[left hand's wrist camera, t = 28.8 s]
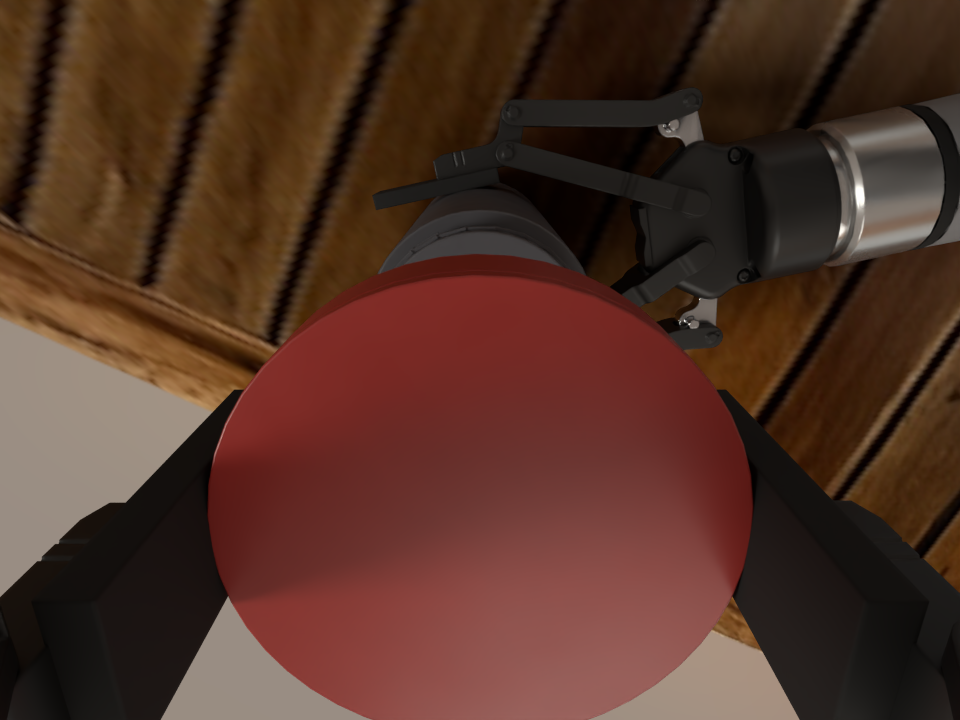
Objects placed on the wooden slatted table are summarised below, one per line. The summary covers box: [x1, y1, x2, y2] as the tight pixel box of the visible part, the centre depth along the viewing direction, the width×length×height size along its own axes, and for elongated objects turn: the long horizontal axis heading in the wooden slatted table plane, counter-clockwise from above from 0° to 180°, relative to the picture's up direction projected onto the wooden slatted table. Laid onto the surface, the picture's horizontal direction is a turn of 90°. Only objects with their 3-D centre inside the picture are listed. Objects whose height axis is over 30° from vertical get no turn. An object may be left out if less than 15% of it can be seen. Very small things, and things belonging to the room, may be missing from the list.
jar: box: [377, 183, 586, 276], centre depth 31 cm, size 9×9×19 cm
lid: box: [207, 254, 754, 720], centre depth 11 cm, size 9×9×2 cm
